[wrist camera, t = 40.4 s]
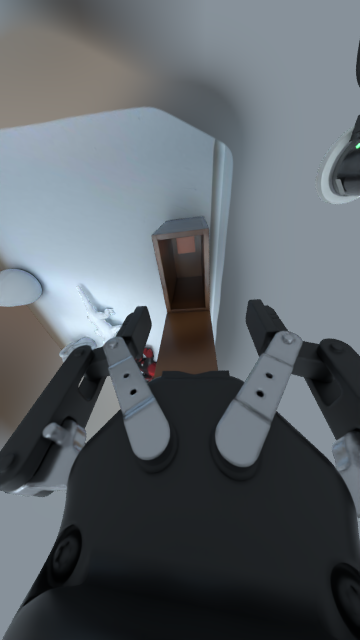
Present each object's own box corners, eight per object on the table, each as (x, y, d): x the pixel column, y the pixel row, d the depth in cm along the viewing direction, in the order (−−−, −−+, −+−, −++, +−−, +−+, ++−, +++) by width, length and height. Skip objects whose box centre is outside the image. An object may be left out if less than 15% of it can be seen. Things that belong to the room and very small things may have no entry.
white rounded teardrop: (15, 291, 52) (-24, 312, 43) (4, 260, 46) (-45, 277, 37) (49, 300, 54) (18, 323, 44) (43, 272, 47) (5, 291, 38)
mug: (73, 347, 68) (58, 367, 60) (67, 332, 63) (49, 352, 55) (100, 350, 68) (88, 370, 60) (96, 336, 63) (82, 356, 55)
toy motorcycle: (145, 378, 82) (174, 379, 76) (141, 387, 78) (172, 390, 72) (123, 344, 68) (156, 343, 62) (117, 353, 64) (152, 353, 58)
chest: (166, 221, 37) (151, 235, 24) (203, 216, 36) (209, 228, 23) (174, 279, 46) (167, 313, 33) (204, 277, 45) (209, 311, 32)
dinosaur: (95, 278, 48) (78, 293, 40) (133, 337, 62) (125, 356, 55) (66, 286, 50) (45, 302, 43) (109, 341, 64) (98, 360, 57)
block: (177, 231, 38) (175, 234, 35) (193, 229, 37) (193, 232, 34) (179, 249, 40) (178, 254, 37) (195, 247, 40) (195, 251, 37)
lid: (151, 385, 21) (159, 402, 24) (220, 385, 19) (218, 403, 23) (166, 313, 32) (170, 331, 35) (209, 310, 31) (209, 329, 34)
